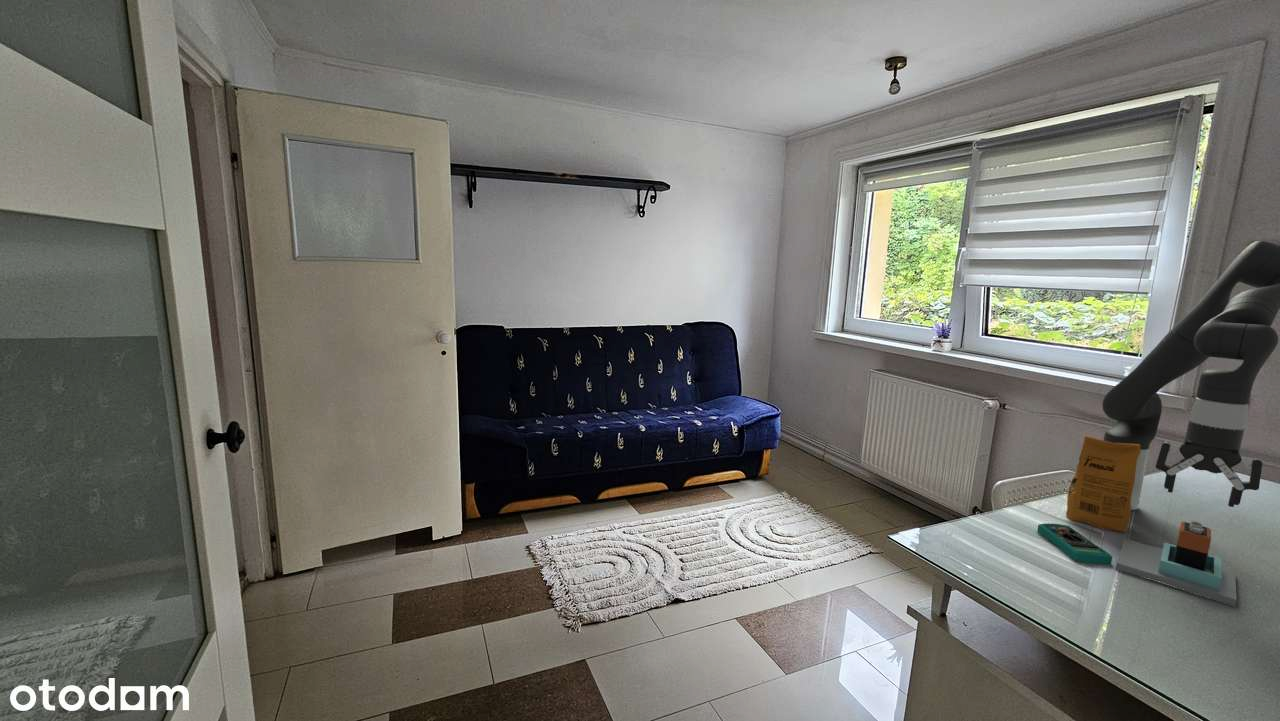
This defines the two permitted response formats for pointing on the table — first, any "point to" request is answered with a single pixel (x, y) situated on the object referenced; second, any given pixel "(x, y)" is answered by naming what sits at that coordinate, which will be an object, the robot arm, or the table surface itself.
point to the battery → (1193, 545)
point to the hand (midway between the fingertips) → (1199, 498)
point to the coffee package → (1103, 484)
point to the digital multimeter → (1074, 544)
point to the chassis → (1178, 571)
